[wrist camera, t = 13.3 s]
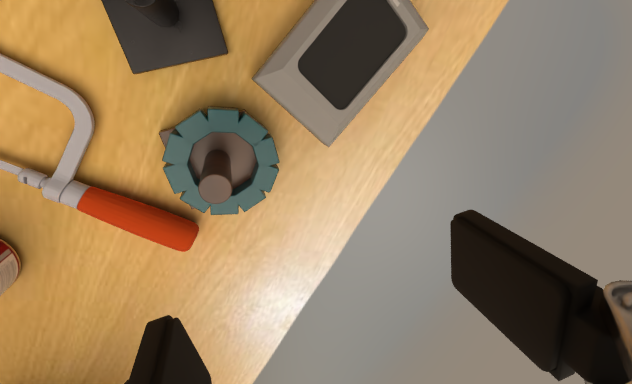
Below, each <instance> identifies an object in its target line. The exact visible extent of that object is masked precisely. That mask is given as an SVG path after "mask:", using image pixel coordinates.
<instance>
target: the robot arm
mask: <svg viewBox="0 0 632 384" xmlns="http://www.w3.org/2000/svg"><path fill="white" fill-rule="evenodd" d="M451 274H452V275H451V278H452V283H453V285H454V287H455V288H456V289H457V290H458V291H459V292H460V293H461V294H462V295H463V296H464V297H465V298H466V299H467V300H468V301H469V302H471V303H472V304H473V305H474V306H475V307H476V308H477V309H478V310H479V311H480V312H481V313H482V314H483V315H484V316H485V317H486V318H487V319H488V320H489V321H490V322H491V323H492V324H494V325H495V326H496V327H497V328H498V329H499V330H500V331H501V332H502V333H503V334H504V335H505V336H506V337H507V338H508V339H509V340H510V341H511V342H513V344H515V345H516V346H517V347H518V348H519V349H520V350H521V351H522V352H523V353H524V354H525V355H526V356H527V357H528V358H529V359H530V360H531V361H532V362H534V363H535V364H536V365H537V366H538V367H539V368H540V369H541V370H543V371H546V372H550V373H551V374H552V375H553V376H554V377H555V378H556V379H557V380H558V381H560V380H562V379H565V378H567V377H569V376H571V375H573V374H574V373H575V372H576V373H578V374H579V375H580V376H581V377H582V378H583V379H584V381H585V384H632V281H621V280H620V281H615V282H611V283H609V284H607V285H606V286H605V288H604V290H603V289H602V288H600V287H598V286H597V281H598V280H596V279H595V278H593V277H591V276H590V275H588V274H586V273H584V272H582V271H581V270H579V269H577V268H575V267H574V266H572V265H570V264H568V263H566V262H565V261H563V260H561V259H559V258H558V257H556V256H554V255H552V254H551V253H549V252H547V251H545V250H544V249H542V248H540V247H538V246H536V245H535V244H533V243H531V242H529V241H528V240H526V239H524V238H522V237H520V236H519V235H517V234H515V233H513V232H511V231H510V230H508V229H506V228H505V227H503V226H501V225H499V224H498V223H496V222H494V221H492V220H490V219H489V218H487V217H485V216H483V215H482V214H480V213H478V212H476V211H474V210H467V211H464V212H462V213H459V214H456V215H455V216H454V218H453V220H452V221H451ZM124 384H212V382H211V377H210V374H209V372H208V370H207V368H206V366H205V365H204V363H203V361H202V359H201V357H200V356H199V354H198V352H197V350H196V348H195V347H194V345H193V343H192V341H191V339H190V338H189V336H188V334H187V332H186V330H185V329H184V327H183V325H182V323H181V321H180V320H179V318H174V319H173V318H172V317H171V316H170V315H167V316H164V317H162V318H159V319H156V320H153V321H150V322H148V323H147V325H146V328H145V331H144V334H143V337H142V340H141V343H140V346H139V350H138V353H137V356H136V359H135V362H134V365H133V368H132V372H131V375H130V378H129V380H127V381H126V382H125V383H124Z"/></svg>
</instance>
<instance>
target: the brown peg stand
mask: <svg viewBox="0 0 632 384" xmlns="http://www.w3.org/2000/svg"><path fill="white" fill-rule="evenodd" d="M244 111H245V110H241V111H239V117H240V116H241V115H242V113H243V112H244ZM245 112H246V111H245ZM173 130H176V128H175V127H173V128H169V129H165V130H161V131H160V132H159V135H160V137H161V139H162V142H163V144H164V146H165V149H166V146H167V142H168V139H169V135H170V133H171V132H172V131H173ZM189 160H190V162H191V165H192V167H193V170H194V172H195V174H196V177H197V178H198V179H199V180H200V182H199V186H198V191H199V194H200V196H201V198H202V199H203V200H205V201H206V202H208V203H211V204H220V203H223V202H225V201H226V200H228V199H229V197H230V196H231V194H232V189H235V188H236V187H238V186H239V185H241V184H242V183H244V182H245V181H247V180H248V179H250V178H251V175H252V172H253V170H254V167H255V164H256V161H257V160H256V157H255V153H254V150H253V147H252V145H250V144H249V143H248V142H246V141H245V140H244V139H242V138H241V137H240V136H238V135H237V134H236V133H222V132H211V133H210V134H208V135H207V136H205V137H204V138H202V139H201V140H199V141H198V142H196V143H195V144H194V146H193V149H192V152H191V156H190V159H189ZM190 206H191V205H190ZM191 209H194V207H193V206H191Z"/></svg>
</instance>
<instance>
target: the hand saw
mask: <svg viewBox="0 0 632 384" xmlns="http://www.w3.org/2000/svg"><path fill="white" fill-rule="evenodd" d="M0 72H1V73H3V74H5V75H7V76H9V77H11V78H13V79H16V80H18V81H20V82H22V83H24V84H26V85H28V86H30V87H32V88H35V89H37V90H39V91H41V92H43V93H45V94H47V95H49V96H51V97H54V98H56V99H58V100H59V101H61V102H62V103H64V104H65V105H66V106H67V107H68V108H69V109H70V111H71V112H72V114H73V116H74V120H75V128H74V130H73V133H72V135H71V137H70V139H69V142H68V144H67V146H66V149H65V151H64V153H63V156H62V158H61V160H60V162H59V165H58V167H57V169H56V171H55V173H54V174H53V176H52V177H51V178H50V177H49V178H48V175H45V174H43V173H40V172H38V171H35V170H32V169H30V168H26V169H23V168H20V167H17V166H15V165H12V164H9V163H7V162H4V161H2V160H0V169H2V170H5V171H8V172H10V173H13V174H16V175H18V181H19V182H22V183H24V184H27V183H28V185H30V186H33V187H36V188H38V189H40V188H42V187H43V191H42V195H43V197H44V198H47V199H50V200H52V201H55V202H58V203H62V204H65V205H68V206H70V207H73V208H76V209H78V210H79V211H81V212H84V213H86V214H88V215H91V216H93V217H95V218H97V219H100V220H102V221H104V222H107V223H109V224H111V225H114V226H116V227H118V228H121V229H123V230H126V231H128V232H130V233H133V234H135V235H138V236H140V237H143V238H146V239H148V240H151V241H153V242H156V243H159V244H161V245H164V246H167V247H170V248H172V249H175V250H178V251H182V252H185V251H188V250H189V249H190V248H191V246H192V244H193V242H194V240H195V238H196V236H197V234H198V231H199V227H198V225H197V224H196V223H194V222H192V221H190V220H187V219H184V218H182V217H179V216H177V215H174V214H171V213H169V212H166V211H164V210H161V209H158V208H155V207H152V206H150V205H147V204H144V203H141V202H138V201H135V200H132V199H129V198H126V197H123V196H120V195H117V194H114V193H111V192H108V191H105V190H102V189H99V188H96V187H93V186H88V185H86V184H83V183H81V182H78V181H74V179H73V178H74V176H75V174H76V172H77V169H78V167H79V165H80V163H81V160H82V158H83V156H84V154H85V151H86V149H87V147H88V145H89V142H90V140H91V138H92V136H93V133H94V128H95V122H94V117H93V114H92V111H91V109H90V107H89V106H88V104H87V103H86V101H85V100H84V99H83V98H82V97H81V96H80V95H79V94H78V93H77V92H75V91H74V90H72V89H71V88H69V87H67V86H66V85H64V84H62V83H60V82H58V81H56V80H54V79H52V78H49V77H47V76H45V75H43V74H41V73H39V72H37V71H35V70H33V69H31V68H29V67H27V66H25V65H23V64H21V63H19V62H17V61H15V60H13V59H11V58H9V57H7V56H5V55H3V54H1V53H0Z"/></svg>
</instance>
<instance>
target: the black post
mask: <svg viewBox="0 0 632 384" xmlns="http://www.w3.org/2000/svg"><path fill="white" fill-rule="evenodd" d="M101 1H102V3H103V5H104V8H105V10H106V12H107V14H108V17H109V19H110V21H111V24H112V26H113V28H114V31H115V33H116V35H117V38H118V40H119V42H120V44H121V47H122V49H123V51H124V54H125V56H126V58H127V61H128V63H129V65H130V68H131V70H132V72H133V74H139V73H144V72H149V71H153V70H158V69H162V68H167V67H171V66H176V65H181V64H185V63H190V62H194V61H199V60H204V59H208V58H213V57H217V56H222V55H226V54H228V51H227V47H226V44H225V41H224V37H223V34H222V31H221V28H220V24H219V21H218V18H217V14H216V11H215V8H214V4H213V1H212V0H101Z"/></svg>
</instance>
